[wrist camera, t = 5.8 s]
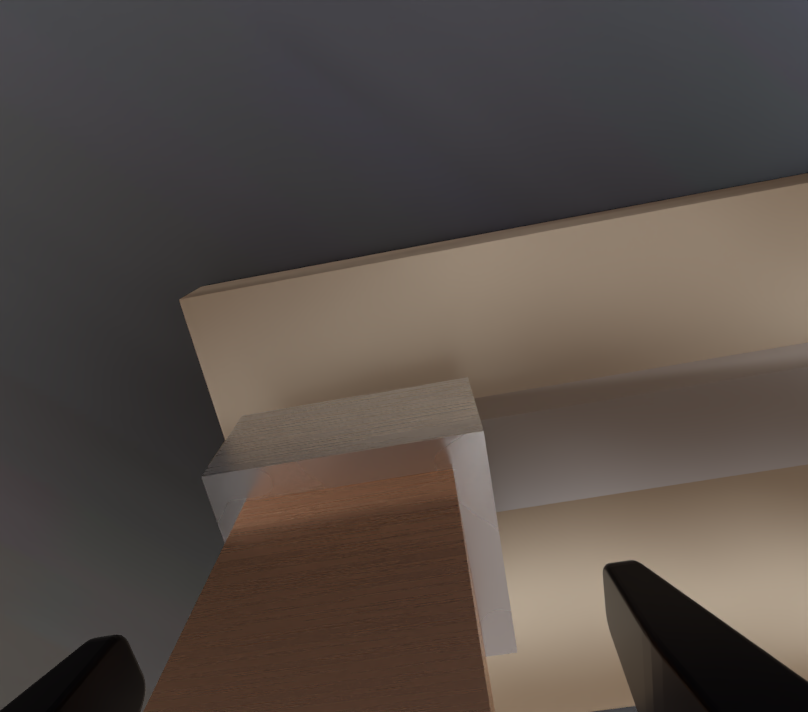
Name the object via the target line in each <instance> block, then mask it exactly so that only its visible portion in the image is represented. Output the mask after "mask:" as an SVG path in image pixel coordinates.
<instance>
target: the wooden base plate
mask: <svg viewBox="0 0 808 712" xmlns="http://www.w3.org/2000/svg"><path fill="white" fill-rule="evenodd" d="M179 301H180V304H181V307H182V310H183V313H184V317H185V320H186V323H187V326H188V329H189V332H190V335H191V338H192V341H193V344H194V347H195V350H196V353H197V356H198V359H199V362H200V365H201V368H202V371H203V374H204V377H205V380H206V383H207V387H208V390H209V393H210V396H211V399H212V402H213V405H214V408H215V411H216V414H217V417H218V420H219V423H220V426H221V429H222V432H223V435H224V438H225V441H226V439H227V438H228V436H229V435H230V433H231V432H232V430H233V429H234V427H235V426H236V424H237V423H238V421H239V420H240V418H241V417H242V416H243V415H249V414H254V413H260V412H266V411H272V410H278V409H284V408H290V407H296V406H301V405H307V404H313V403H319V402H325V401H331V400H337V399H343V398H349V397H354V396H360V395H366V394H372V393H378V392H384V391H390V390H396V389H401V388H407V387H413V386H419V385H425V384H431V383H437V382H443V381H448V380H454V379H460V378H466V377H468V379H469V383H470V386H471V390H472V393H473V396H474V400H475V403H476V407H477V410H478V413H479V417H480V420H481V424H482V427H483V430H484V437H485V443H486V450H487V456H488V463H489V469H490V476H491V482H492V489H493V495H494V502H495V509H496V515H497V522H498V528H499V535H500V541H501V548H502V554H503V561H504V567H505V574H506V581H507V587H508V594H509V600H510V607H511V613H512V620H513V626H514V633H515V639H516V646H517V653H510V654H503V655H496V656H488V657H486V660H487V666H488V672H489V678H490V684H491V690H492V696H493V703H494V709H495V712H591V711H599V710H606V709H614V708H622V707H630V706H635V703H634V700H633V697H632V694H631V691H630V688H629V685H628V683H627V680H626V677H625V674H624V671H623V668H622V665H621V662H620V660H619V657H618V654H617V651H616V648H615V645H614V642H613V639H612V637H611V633H610V630H609V627H608V622H607V618H606V609H605V597H604V585H603V568H604V566H605V565H606V564H608V563H613V562H620V561H627V560H635V561H638V562H640V563H642V564H643V565H644V566H646V567H647V568H649V569H650V570H651V571H653V572H654V573H656V574H657V575H658V576H660V577H661V578H663V579H664V580H666V581H667V582H668V583H670V584H671V585H673V586H674V587H675V588H677V589H678V590H680V591H681V592H682V593H684V594H685V595H687V596H688V597H690V598H691V599H692V600H694V601H695V602H697V603H698V604H699V605H701V606H702V607H704V608H705V609H706V610H708V611H709V612H711V613H712V614H714V615H715V616H716V617H718V618H719V619H721V620H722V621H723V622H725V623H726V624H728V625H729V626H730V627H732V628H733V629H735V630H736V631H738V632H739V633H740V634H742V635H743V636H745V637H746V638H747V639H749V640H750V641H752V642H753V643H754V644H756V645H757V646H759V647H760V648H762V649H763V650H764V651H766V652H767V653H769V654H770V655H771V656H773V657H774V658H776V659H777V660H778V661H780V662H781V663H783V664H784V665H786V666H787V667H788V668H790V669H791V670H793V671H794V672H795V673H797V674H798V675H800V676H801V677H802V678H804V679H805V680H807V681H808V173H806V174H801V175H795V176H790V177H785V178H779V179H774V180H769V181H763V182H758V183H753V184H747V185H742V186H737V187H731V188H726V189H720V190H715V191H710V192H704V193H699V194H694V195H688V196H683V197H678V198H672V199H667V200H662V201H656V202H651V203H646V204H640V205H635V206H630V207H624V208H619V209H613V210H608V211H603V212H597V213H592V214H587V215H581V216H576V217H571V218H565V219H560V220H555V221H549V222H544V223H539V224H533V225H528V226H523V227H517V228H512V229H506V230H501V231H496V232H490V233H485V234H480V235H474V236H469V237H464V238H458V239H453V240H448V241H442V242H437V243H432V244H426V245H421V246H416V247H410V248H405V249H399V250H394V251H389V252H383V253H378V254H373V255H367V256H362V257H357V258H351V259H346V260H341V261H335V262H330V263H325V264H319V265H314V266H309V267H303V268H298V269H292V270H287V271H282V272H276V273H271V274H266V275H260V276H255V277H250V278H244V279H239V280H234V281H228V282H223V283H218V284H212V285H207V286H202V287H200V288H198V289H196V290H195V291H193V292H191V293H190V294H188V295H186V296H184V297H183V298H181V299H179ZM225 441H224V442H225ZM224 442H223V444H224ZM223 444H222V445H223ZM222 445H221V447H222ZM221 447H220V448H221ZM220 448H219V450H220ZM219 450H218V451H219ZM218 451H217V453H218ZM217 453H216V454H217ZM216 454H215V456H216ZM215 456H214V457H215ZM214 457H213V459H214ZM213 459H212V460H213ZM212 460H211V462H212ZM211 462H210V463H211ZM210 463H209V465H210ZM209 465H208V466H209Z"/></svg>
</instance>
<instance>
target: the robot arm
mask: <svg viewBox="0 0 808 712" xmlns="http://www.w3.org/2000/svg"><path fill="white" fill-rule="evenodd" d="M603 585H604V597H605V609H606V618H607V622H608V627H609V630H610V633H611V637H612V639H613V642H614V645H615V648H616V651H617V654H618V657H619V660H620V662H621V665H622V668H623V671H624V674H625V677H626V680H627V683H628V685H629V688H630V691H631V694H632V697H633V700H634V703H635V706H636V708H637V711H638V712H808V681H807V680H805V679H804V678H802V677H801V676H800V675H798V674H797V673H795V672H794V671H793V670H791V669H790V668H788V667H787V666H786V665H784V664H783V663H781V662H780V661H778V660H777V659H776V658H774V657H773V656H771V655H770V654H769V653H767V652H766V651H764V650H763V649H762V648H760V647H759V646H757V645H756V644H754V643H753V642H752V641H750V640H749V639H747V638H746V637H745V636H743V635H742V634H740V633H739V632H738V631H736V630H735V629H733V628H732V627H730V626H729V625H728V624H726V623H725V622H723V621H722V620H721V619H719V618H718V617H716V616H715V615H714V614H712V613H711V612H709V611H708V610H706V609H705V608H704V607H702V606H701V605H699V604H698V603H697V602H695V601H694V600H692V599H691V598H690V597H688V596H687V595H685V594H684V593H682V592H681V591H680V590H678V589H677V588H675V587H674V586H673V585H671V584H670V583H668V582H667V581H666V580H664V579H663V578H661V577H660V576H658V575H657V574H656V573H654V572H653V571H651V570H650V569H649V568H647V567H646V566H644V565H643V564H642V563H640V562H638V561H635V560H627V561H620V562H613V563H608V564H606V565H605V566H604V568H603ZM144 696H145V679H144V676H143V673H142V671H141V669H140V667H139V665H138V662H137V660H136V658H135V656H134V654H133V651H132V649H131V647H130V645H129V643H128V641H127V639H126V638H124V637H123V636H122V635H111V636H104V637H97V638H93V639H91V640H89V641H87V642H86V643H84V644H83V645H82V646H80V647H79V648H78V649H77V650H75V651H74V652H73V653H72V654H70V655H69V656H68V657H67V658H65V659H64V660H63V661H62V662H60V663H59V664H58V665H57V666H55V667H54V668H53V669H52V670H50V671H49V672H48V673H47V674H45V675H44V676H43V677H42V678H40V679H39V680H38V681H37V682H35V683H34V684H33V685H32V686H30V687H29V688H28V689H27V690H25V691H24V692H23V693H22V694H20V695H19V696H18V697H17V698H15V699H14V700H13V701H12V702H10V703H9V704H8V705H7V706H5V707H4V708H3V709H2V710H0V712H140V711H141V708H142V704H143V701H144Z"/></svg>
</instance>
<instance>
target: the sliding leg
mask: <svg viewBox="0 0 808 712" xmlns="http://www.w3.org/2000/svg"><path fill="white" fill-rule="evenodd" d="M201 478H202V481H203V483H204V486H205V489H206V492H207V495H208V498H209V500H210V503H211V506H212V509H213V512H214V515H215V517H216V520H217V523H218V526H219V529H220V532H221V534H222V537H223V540H224V543H225V544H224V547H223V549H222V551H221V553H220V555H219V557H218V559H217V561H216V563H215V565H214V567H213V569H212V571H211V573H210V575H209V577H208V580H207V582H206V584H205V586H204V588H203V590H202V592H201V594H200V596H199V598H198V600H197V602H196V604H195V606H194V608H193V610H192V613H191V615H190V617H189V619H188V621H187V623H186V625H185V627H184V629H183V631H182V633H181V635H180V637H179V639H178V641H177V643H176V645H175V648H174V650H173V652H172V654H171V656H170V658H169V660H168V662H167V664H166V666H165V668H164V670H163V672H162V674H161V676H160V678H159V681H158V683H157V685H156V687H155V689H154V691H153V693H152V695H151V697H150V699H149V701H148V703H147V705H146V707H145V709H144V711H143V712H495V709H494V703H493V696H492V690H491V684H490V678H489V672H488V666H487V660H486V657H488V656H496V655H503V654H510V653H517V646H516V639H515V633H514V626H513V620H512V613H511V607H510V600H509V594H508V587H507V581H506V574H505V567H504V561H503V554H502V548H501V541H500V535H499V528H498V522H497V515H496V509H495V502H494V495H493V489H492V482H491V476H490V469H489V463H488V456H487V450H486V443H485V437H484V430H483V427H482V424H481V420H480V417H479V413H478V410H477V407H476V403H475V400H474V396H473V393H472V390H471V386H470V383H469V379H468V377H466V378H460V379H454V380H448V381H443V382H437V383H431V384H425V385H419V386H413V387H407V388H401V389H396V390H390V391H384V392H378V393H372V394H366V395H360V396H354V397H349V398H343V399H337V400H331V401H325V402H319V403H313V404H307V405H301V406H296V407H290V408H284V409H278V410H272V411H266V412H260V413H254V414H249V415H243V416H242V417H241V418H240V420H239V421H238V423H237V424H236V426H235V427H234V429H233V430H232V432H231V433H230V435H229V436H228V438H227V439H226V441H225V442H224V444H223V445H222V447H221V448H220V450H219V451H218V453H217V454H216V456H215V457H214V459H213V460H212V462H211V463H210V465H209V466H208V468H207V469H206V471H205V472H204V474H203V475H202V477H201Z"/></svg>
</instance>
